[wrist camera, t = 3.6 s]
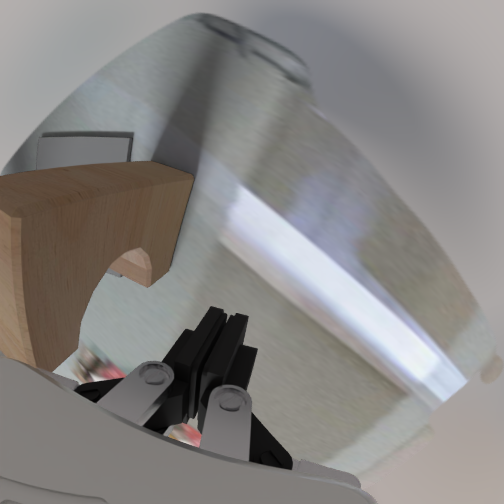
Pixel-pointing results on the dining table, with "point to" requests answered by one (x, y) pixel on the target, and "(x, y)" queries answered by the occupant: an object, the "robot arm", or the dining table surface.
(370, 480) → the dining table surface
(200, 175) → the dining table surface
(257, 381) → the dining table surface
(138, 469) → the robot arm
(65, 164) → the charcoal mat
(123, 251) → the decorative block
